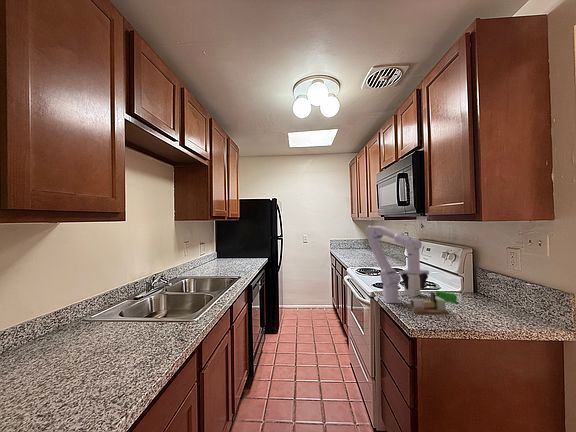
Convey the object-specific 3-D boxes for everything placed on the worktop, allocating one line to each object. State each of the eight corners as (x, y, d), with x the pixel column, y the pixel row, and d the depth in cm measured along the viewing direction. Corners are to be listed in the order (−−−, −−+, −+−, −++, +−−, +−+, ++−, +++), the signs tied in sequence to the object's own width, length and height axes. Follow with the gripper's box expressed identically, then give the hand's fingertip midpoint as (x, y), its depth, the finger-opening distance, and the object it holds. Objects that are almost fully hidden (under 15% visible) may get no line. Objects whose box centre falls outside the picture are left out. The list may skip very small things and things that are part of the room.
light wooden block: (421, 305, 140) (420, 292, 140) (437, 305, 139) (436, 291, 139) (423, 307, 137) (423, 293, 137) (440, 307, 136) (439, 293, 136)
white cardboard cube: (410, 306, 140) (410, 298, 140) (420, 306, 140) (420, 298, 140) (414, 309, 136) (413, 301, 136) (424, 309, 136) (424, 301, 136)
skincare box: (410, 292, 171) (409, 267, 171) (421, 294, 166) (420, 268, 166) (403, 295, 166) (403, 269, 166) (414, 297, 161) (413, 270, 161)
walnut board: (406, 306, 144) (406, 304, 144) (435, 305, 144) (435, 304, 144) (416, 314, 132) (416, 311, 132) (448, 313, 132) (448, 311, 132)
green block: (459, 303, 149) (459, 294, 149) (455, 304, 147) (455, 295, 147) (440, 297, 159) (440, 289, 159) (436, 298, 157) (435, 290, 157)
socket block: (431, 305, 141) (431, 296, 141) (438, 305, 141) (437, 296, 141) (438, 309, 134) (437, 300, 134) (445, 309, 134) (445, 300, 134)
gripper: (402, 263, 138) (403, 290, 138) (431, 263, 137) (432, 290, 137) (397, 261, 145) (398, 287, 145) (425, 261, 144) (426, 287, 144)
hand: (414, 288), depth 141 cm, fingers open, 7 cm apart
